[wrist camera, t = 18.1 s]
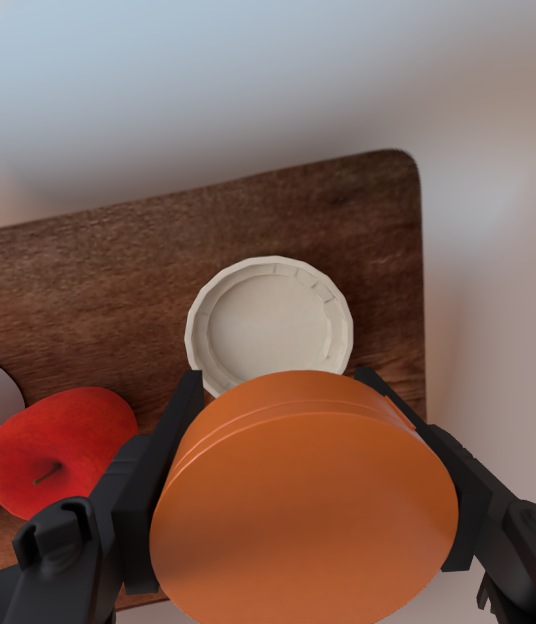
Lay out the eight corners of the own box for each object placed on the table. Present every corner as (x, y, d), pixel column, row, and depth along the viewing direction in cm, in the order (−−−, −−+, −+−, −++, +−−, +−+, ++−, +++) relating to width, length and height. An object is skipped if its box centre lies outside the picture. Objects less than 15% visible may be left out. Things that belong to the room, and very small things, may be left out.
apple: (174, 392, 23) (136, 463, 15) (134, 461, 25) (82, 555, 17) (79, 348, 21) (-16, 403, 14) (43, 424, 23) (-59, 510, 16)
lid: (292, 312, 6) (308, 338, 5) (459, 459, 8) (520, 521, 6) (123, 493, 8) (82, 572, 6) (299, 590, 9) (311, 675, 7)
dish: (368, 304, 22) (386, 312, 19) (291, 415, 24) (296, 438, 22) (240, 224, 20) (238, 220, 17) (168, 355, 22) (156, 372, 19)
